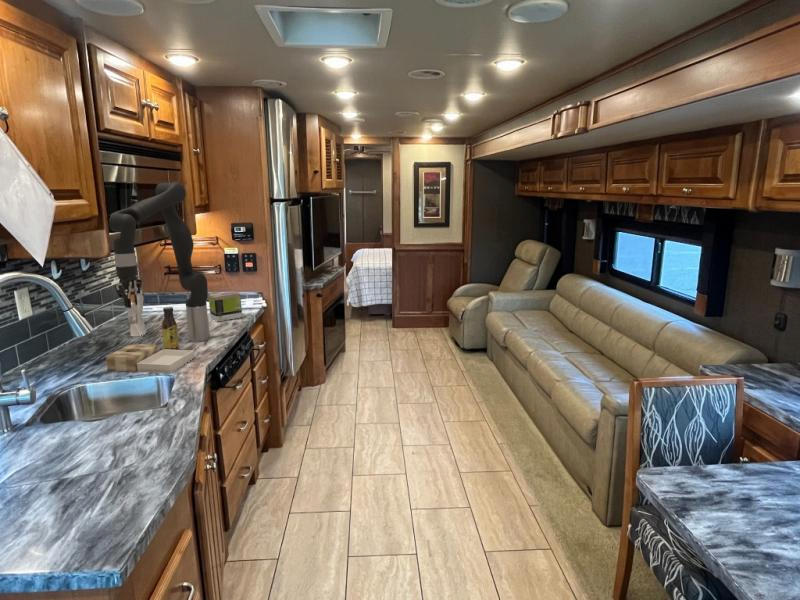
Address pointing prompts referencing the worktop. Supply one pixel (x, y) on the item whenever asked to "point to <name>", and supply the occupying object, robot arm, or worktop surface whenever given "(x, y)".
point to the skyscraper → (138, 317)
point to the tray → (165, 361)
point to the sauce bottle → (169, 330)
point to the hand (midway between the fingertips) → (131, 306)
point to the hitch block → (130, 357)
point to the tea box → (225, 306)
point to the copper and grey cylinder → (132, 311)
